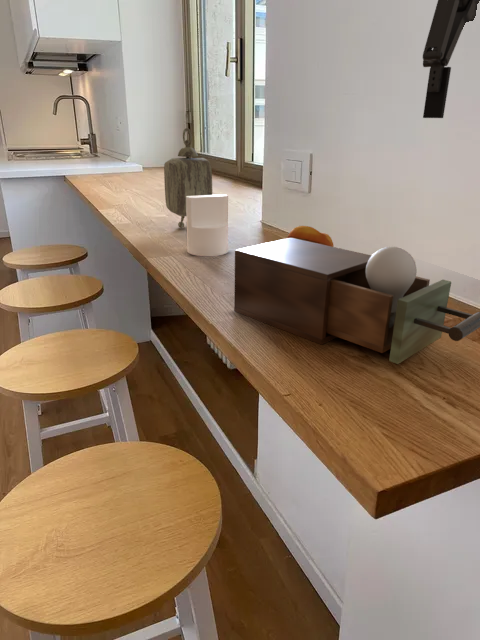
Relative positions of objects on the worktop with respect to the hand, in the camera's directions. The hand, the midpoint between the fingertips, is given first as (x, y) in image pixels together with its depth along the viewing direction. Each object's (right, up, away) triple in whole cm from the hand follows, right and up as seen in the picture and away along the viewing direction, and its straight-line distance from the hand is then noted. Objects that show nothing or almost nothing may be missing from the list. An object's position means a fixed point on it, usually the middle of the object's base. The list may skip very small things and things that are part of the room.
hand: (449, 118), depth 75 cm
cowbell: (-46, -6, +59) cm, 75 cm away
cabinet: (-22, -30, -1) cm, 37 cm away
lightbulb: (-13, -32, -10) cm, 36 cm away
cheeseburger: (-19, -22, +20) cm, 36 cm away
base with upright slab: (-39, -15, +35) cm, 55 cm away
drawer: (-13, -33, -10) cm, 37 cm away
